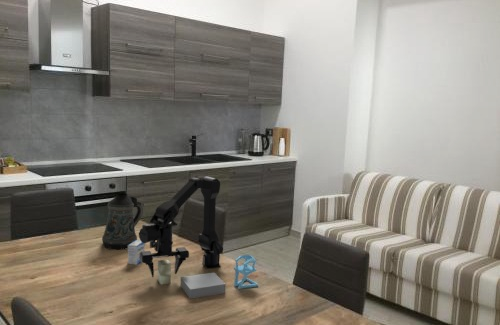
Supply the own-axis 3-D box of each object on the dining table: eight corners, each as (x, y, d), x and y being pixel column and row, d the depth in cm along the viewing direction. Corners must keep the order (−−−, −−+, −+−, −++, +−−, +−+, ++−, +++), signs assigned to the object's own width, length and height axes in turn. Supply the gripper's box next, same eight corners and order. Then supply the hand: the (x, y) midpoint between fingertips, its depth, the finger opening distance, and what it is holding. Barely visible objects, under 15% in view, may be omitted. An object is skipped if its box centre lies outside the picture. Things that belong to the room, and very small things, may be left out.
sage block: (167, 278, 179) (167, 259, 178) (170, 283, 175) (171, 263, 173) (157, 279, 177) (157, 260, 176) (160, 284, 173) (160, 265, 172)
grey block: (213, 281, 179) (214, 272, 178) (225, 293, 168) (225, 284, 168) (180, 286, 173) (180, 277, 172) (190, 299, 162) (190, 289, 162)
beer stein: (94, 247, 211) (94, 196, 207) (118, 235, 229) (118, 188, 226) (125, 252, 206) (125, 200, 203) (146, 240, 225) (147, 192, 221)
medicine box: (136, 265, 191) (137, 246, 190) (127, 263, 192) (127, 244, 191) (144, 259, 199) (145, 240, 198) (135, 257, 200) (135, 239, 199)
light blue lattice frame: (230, 284, 176) (231, 255, 175) (246, 279, 182) (247, 251, 180) (242, 291, 170) (243, 261, 169) (258, 286, 176) (259, 257, 174)
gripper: (181, 229, 185) (180, 265, 187) (136, 233, 176) (136, 270, 179) (190, 237, 175) (189, 275, 177) (142, 242, 167) (142, 281, 169)
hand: (164, 275), depth 176 cm, fingers open, 9 cm apart
